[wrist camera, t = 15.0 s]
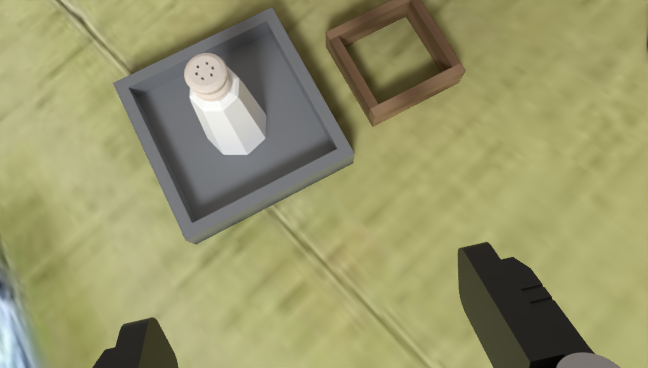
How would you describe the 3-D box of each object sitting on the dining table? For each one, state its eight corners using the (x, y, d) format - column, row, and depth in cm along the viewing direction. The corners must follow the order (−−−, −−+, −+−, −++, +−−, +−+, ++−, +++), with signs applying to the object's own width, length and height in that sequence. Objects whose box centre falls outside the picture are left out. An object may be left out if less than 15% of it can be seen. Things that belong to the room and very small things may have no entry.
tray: (275, 25, 45) (271, 7, 42) (353, 163, 42) (354, 153, 39) (127, 97, 44) (112, 83, 41) (196, 244, 41) (185, 240, 38)
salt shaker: (255, 89, 43) (230, 21, 32) (277, 143, 42) (258, 92, 31) (197, 111, 42) (151, 50, 32) (218, 167, 41) (178, 123, 31)
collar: (409, 5, 45) (413, -11, 43) (458, 82, 44) (465, 70, 41) (325, 46, 45) (325, 32, 42) (372, 126, 43) (374, 116, 40)
